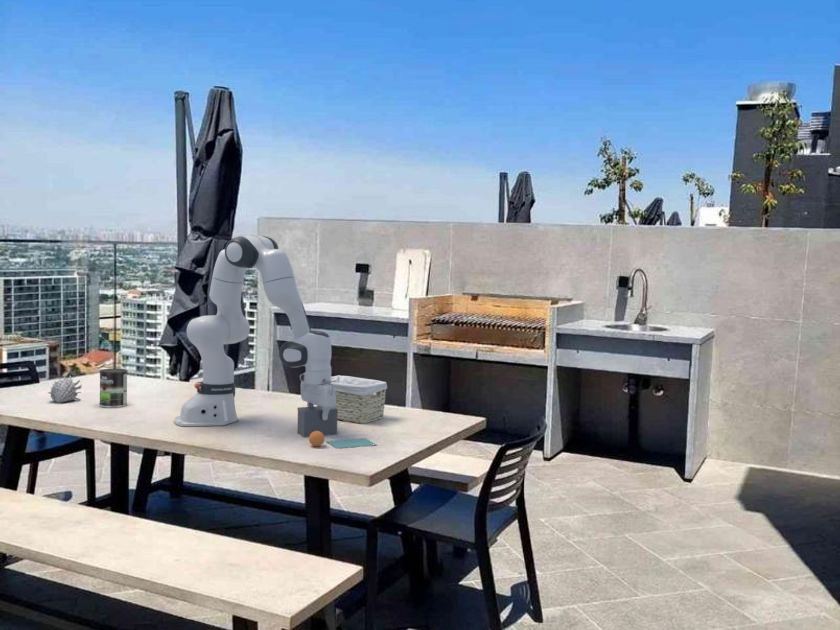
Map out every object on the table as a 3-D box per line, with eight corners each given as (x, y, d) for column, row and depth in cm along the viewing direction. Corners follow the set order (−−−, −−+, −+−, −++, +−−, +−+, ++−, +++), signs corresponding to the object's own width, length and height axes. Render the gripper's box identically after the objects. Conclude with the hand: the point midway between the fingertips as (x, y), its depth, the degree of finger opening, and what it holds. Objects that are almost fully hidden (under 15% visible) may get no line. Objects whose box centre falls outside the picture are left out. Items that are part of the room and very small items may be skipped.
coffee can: (114, 408, 303) (114, 372, 302) (93, 406, 306) (93, 370, 305) (133, 404, 312) (133, 369, 311) (113, 402, 316) (113, 367, 315)
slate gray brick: (303, 436, 264) (304, 411, 264) (297, 432, 271) (297, 407, 270) (337, 434, 270) (337, 409, 269) (329, 429, 276) (330, 405, 276)
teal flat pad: (336, 448, 250) (336, 448, 250) (326, 441, 259) (326, 441, 259) (376, 445, 256) (376, 444, 256) (365, 438, 265) (365, 438, 265)
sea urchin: (45, 408, 312) (74, 411, 311) (41, 384, 307) (69, 387, 306) (61, 393, 322) (89, 396, 321) (57, 370, 318) (85, 373, 316)
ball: (311, 448, 249) (311, 433, 248) (306, 445, 253) (307, 430, 253) (326, 447, 251) (326, 432, 250) (321, 444, 255) (321, 428, 255)
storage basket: (388, 418, 299) (389, 380, 298) (363, 425, 285) (364, 386, 284) (338, 411, 312) (339, 374, 311) (312, 417, 298) (313, 379, 297)
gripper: (340, 381, 262) (340, 421, 263) (313, 373, 279) (313, 411, 280) (324, 382, 259) (323, 423, 260) (297, 374, 276) (297, 413, 277)
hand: (318, 417), depth 270 cm, fingers open, 8 cm apart
